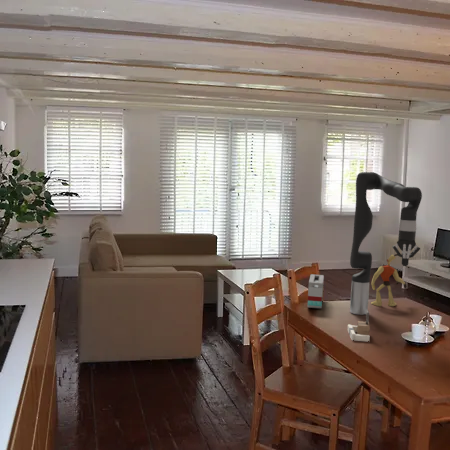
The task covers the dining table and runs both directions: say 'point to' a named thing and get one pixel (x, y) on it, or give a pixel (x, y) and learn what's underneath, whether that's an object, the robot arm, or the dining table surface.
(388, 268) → the toy
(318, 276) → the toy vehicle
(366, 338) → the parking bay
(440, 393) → the dining table surface
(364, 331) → the tan block
